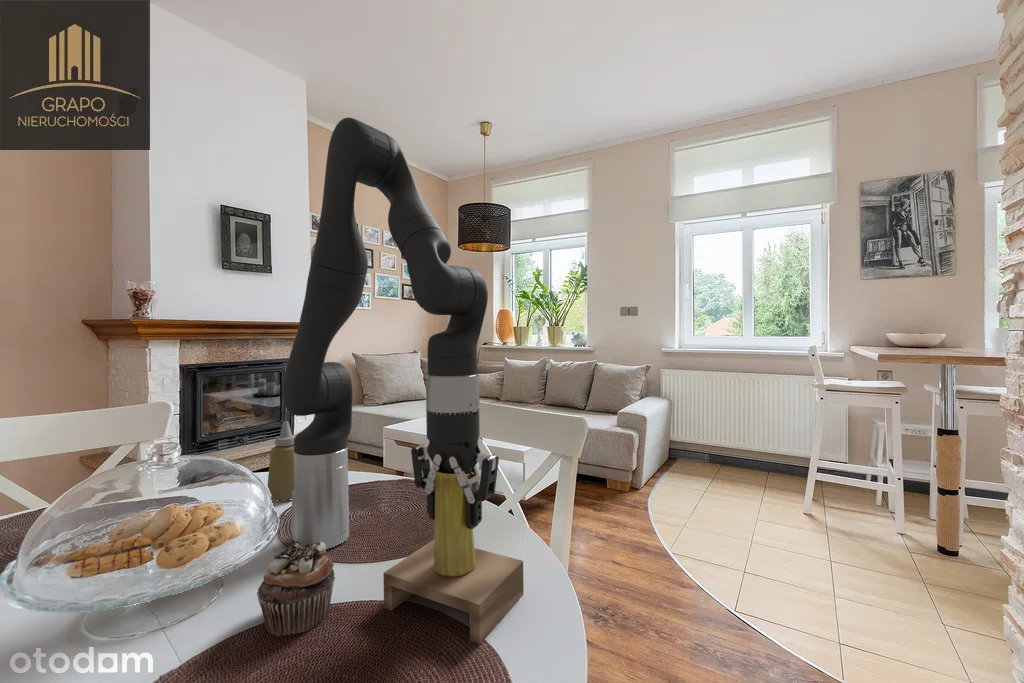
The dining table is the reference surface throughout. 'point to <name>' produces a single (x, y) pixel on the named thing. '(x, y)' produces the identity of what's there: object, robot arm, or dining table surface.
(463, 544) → the vase
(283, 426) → the squeeze bottle
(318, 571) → the cupcake
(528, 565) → the dining table surface
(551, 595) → the dining table surface
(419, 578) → the walnut shelf
